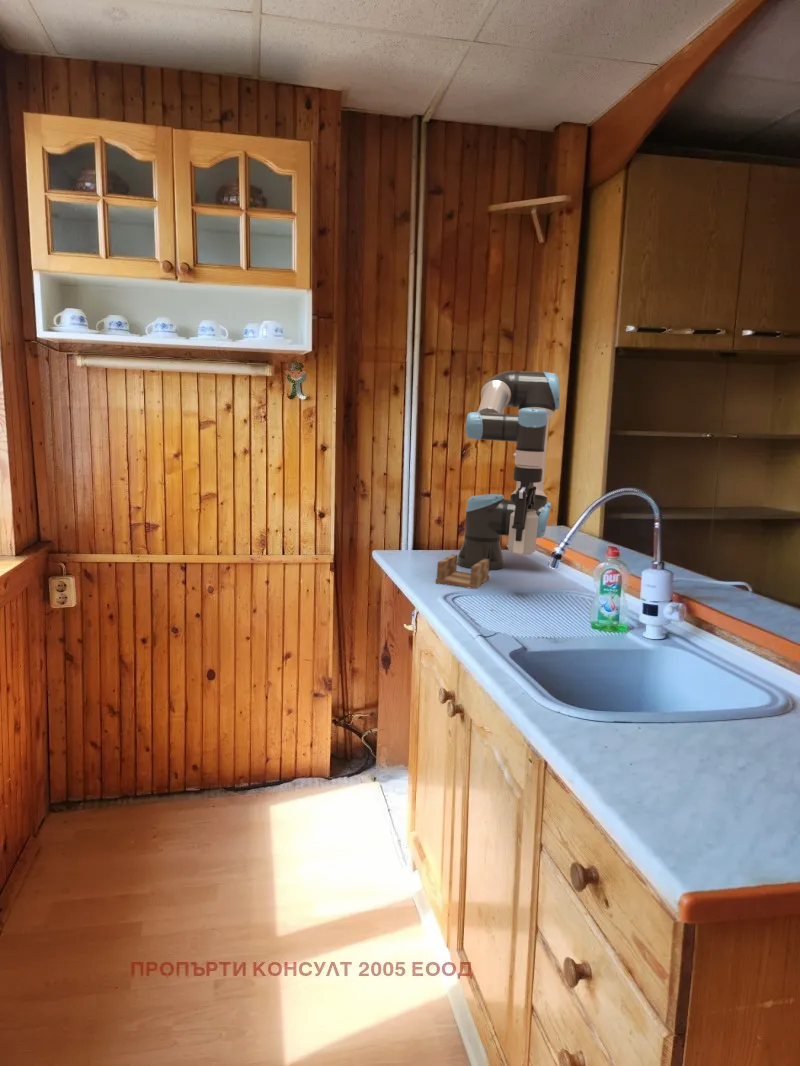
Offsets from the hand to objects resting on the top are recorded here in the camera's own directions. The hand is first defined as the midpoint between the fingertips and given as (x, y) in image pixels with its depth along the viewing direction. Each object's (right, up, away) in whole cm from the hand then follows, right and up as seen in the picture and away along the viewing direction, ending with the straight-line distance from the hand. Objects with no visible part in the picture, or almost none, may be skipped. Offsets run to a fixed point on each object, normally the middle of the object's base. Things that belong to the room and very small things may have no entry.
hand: (521, 549), depth 198 cm
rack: (-15, -10, +15) cm, 23 cm away
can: (0, -1, 0) cm, 1 cm away
